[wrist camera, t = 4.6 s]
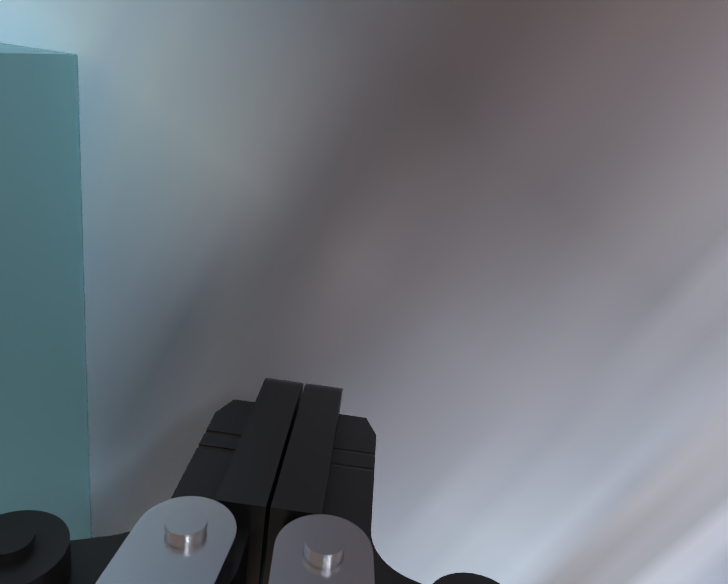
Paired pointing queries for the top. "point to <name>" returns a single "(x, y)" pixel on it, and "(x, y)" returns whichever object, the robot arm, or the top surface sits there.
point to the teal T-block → (42, 290)
